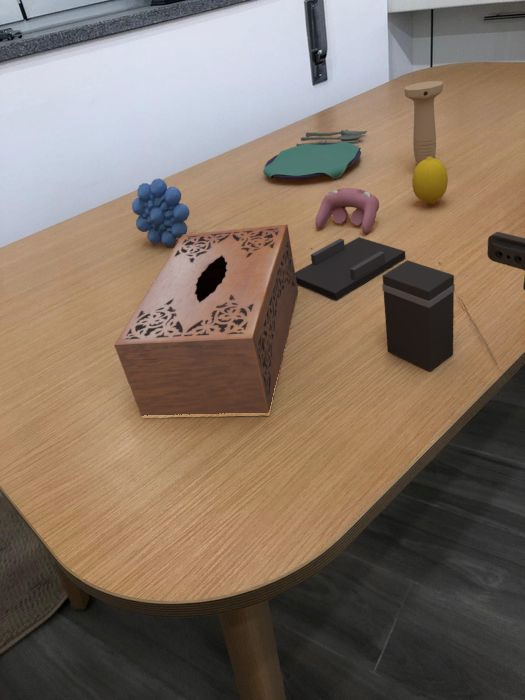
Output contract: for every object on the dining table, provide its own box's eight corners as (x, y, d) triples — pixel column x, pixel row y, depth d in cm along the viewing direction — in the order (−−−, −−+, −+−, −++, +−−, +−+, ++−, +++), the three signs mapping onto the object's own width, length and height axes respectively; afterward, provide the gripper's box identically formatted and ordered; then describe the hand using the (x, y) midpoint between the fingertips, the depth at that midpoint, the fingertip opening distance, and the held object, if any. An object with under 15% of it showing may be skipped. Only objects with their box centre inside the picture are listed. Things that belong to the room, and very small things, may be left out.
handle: (406, 168, 115) (402, 85, 106) (440, 163, 114) (440, 79, 105) (409, 177, 111) (406, 91, 102) (445, 172, 110) (445, 85, 101)
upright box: (410, 335, 70) (407, 259, 65) (454, 354, 66) (455, 274, 60) (386, 352, 68) (381, 275, 63) (430, 372, 64) (428, 292, 59)
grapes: (210, 236, 104) (194, 169, 97) (189, 254, 99) (171, 185, 93) (157, 233, 109) (138, 169, 103) (135, 250, 105) (114, 184, 98)
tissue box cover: (199, 297, 87) (182, 234, 81) (298, 291, 83) (287, 224, 78) (142, 418, 66) (114, 345, 61) (269, 416, 63) (252, 338, 57)
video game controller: (378, 235, 97) (384, 190, 95) (367, 234, 93) (372, 188, 91) (325, 230, 102) (329, 187, 100) (311, 229, 98) (316, 184, 97)
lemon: (415, 198, 102) (414, 152, 98) (449, 197, 100) (449, 149, 96) (410, 212, 98) (409, 164, 94) (446, 211, 96) (446, 162, 92)
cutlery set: (251, 187, 121) (248, 176, 119) (300, 138, 142) (298, 129, 141) (346, 185, 113) (345, 173, 111) (383, 134, 134) (382, 123, 133)
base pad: (359, 243, 92) (358, 227, 90) (405, 258, 86) (405, 241, 84) (291, 282, 86) (288, 265, 84) (336, 300, 79) (333, 283, 78)
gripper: (817, 182, 39) (573, 151, 50) (724, 271, 33) (468, 213, 44) (781, 283, 43) (563, 233, 55) (692, 379, 37) (466, 301, 48)
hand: (521, 225), depth 49 cm, fingers open, 8 cm apart
